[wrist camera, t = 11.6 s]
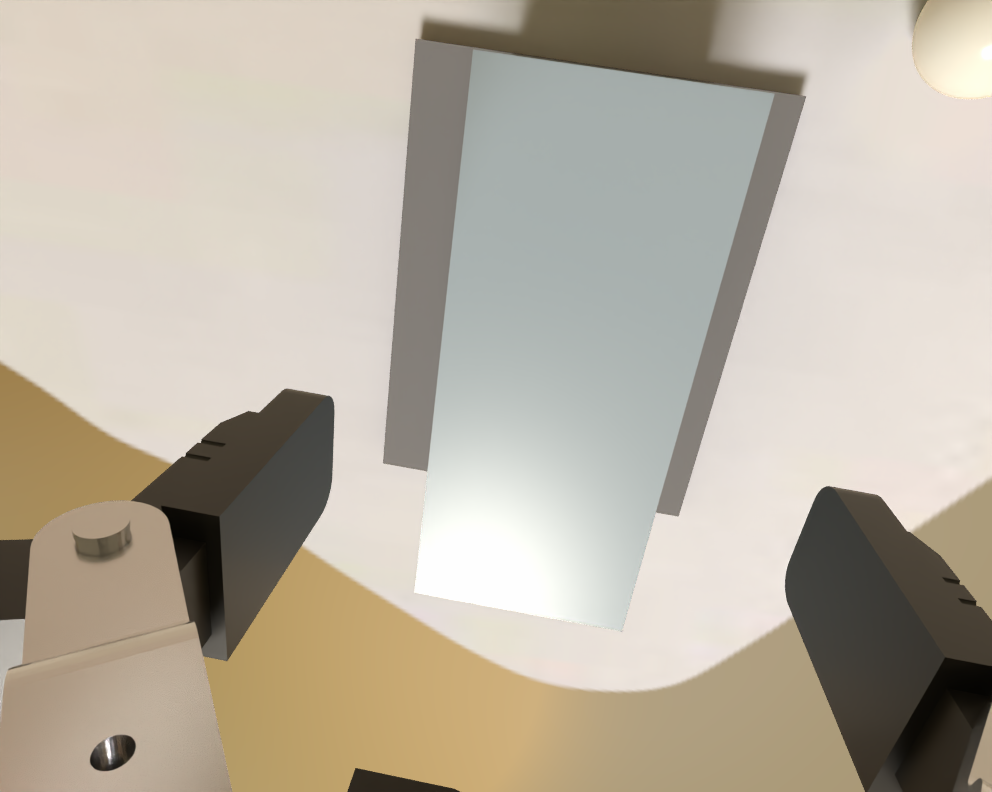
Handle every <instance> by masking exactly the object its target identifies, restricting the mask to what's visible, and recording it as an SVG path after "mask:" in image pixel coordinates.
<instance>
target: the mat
mask: <svg viewBox="0 0 992 792" xmlns="http://www.w3.org/2000/svg"><path fill="white" fill-rule="evenodd" d="M473 49H474V50H480V51H487V52H494V53H501V54H508V55H515V56H521V57H528V58H535V59H542V60H549V61H555V62H562V63H569V64H576V65H583V66H590V67H596V68H603V69H610V70H617V71H624V72H631V73H637V74H644V75H651V76H658V77H665V78H672V79H678V80H685V81H692V82H699V83H706V84H713V85H719V86H726V87H733V88H740V89H747V90H754V91H760V92H767V93H774V94H775V95H774V98H773V102H772V105H771V109H770V112H769V116H768V119H767V123H766V127H765V130H764V134H763V137H762V141H761V144H760V148H759V151H758V155H757V158H756V162H755V165H754V169H753V172H752V176H751V179H750V183H749V186H748V190H747V193H746V197H745V200H744V204H743V207H742V211H741V214H740V218H739V221H738V225H737V228H736V232H735V236H734V239H733V243H732V246H731V250H730V253H729V257H728V260H727V264H726V267H725V271H724V274H723V278H722V281H721V285H720V288H719V292H718V295H717V299H716V302H715V306H714V309H713V313H712V316H711V320H710V323H709V327H708V330H707V334H706V338H705V341H704V345H703V348H702V352H701V355H700V359H699V362H698V366H697V369H696V373H695V376H694V380H693V383H692V387H691V390H690V394H689V397H688V401H687V404H686V408H685V411H684V415H683V418H682V422H681V425H680V429H679V432H678V436H677V440H676V443H675V447H674V450H673V454H672V457H671V461H670V464H669V468H668V471H667V475H666V478H665V482H664V485H663V489H662V492H661V496H660V499H659V503H658V506H657V510H656V512H657V513H662V514H668V515H673V516H679V513H680V510H681V506H682V503H683V500H684V496H685V493H686V490H687V487H688V483H689V480H690V477H691V473H692V470H693V467H694V464H695V460H696V457H697V454H698V450H699V447H700V444H701V440H702V437H703V434H704V431H705V427H706V424H707V421H708V417H709V414H710V411H711V408H712V404H713V401H714V398H715V394H716V391H717V388H718V385H719V381H720V378H721V375H722V371H723V368H724V365H725V362H726V358H727V355H728V352H729V348H730V345H731V342H732V339H733V335H734V332H735V329H736V325H737V322H738V319H739V316H740V312H741V309H742V306H743V302H744V299H745V296H746V293H747V289H748V286H749V283H750V279H751V276H752V273H753V270H754V266H755V263H756V260H757V256H758V253H759V250H760V247H761V243H762V240H763V237H764V233H765V230H766V227H767V224H768V220H769V217H770V214H771V210H772V207H773V204H774V200H775V197H776V194H777V191H778V187H779V184H780V181H781V177H782V174H783V171H784V168H785V164H786V161H787V158H788V154H789V151H790V148H791V145H792V141H793V138H794V135H795V131H796V128H797V125H798V122H799V118H800V115H801V112H802V108H803V105H804V102H805V99H806V96H800V95H793V94H786V93H780V92H773V91H766V90H759V89H753V88H746V87H739V86H732V85H726V84H719V83H712V82H705V81H698V80H692V79H685V78H678V77H671V76H665V75H658V74H651V73H644V72H638V71H631V70H624V69H617V68H611V67H604V66H597V65H590V64H584V63H577V62H570V61H563V60H556V59H550V58H543V57H536V56H529V55H523V54H516V53H509V52H502V51H496V50H489V49H482V48H475V47H469V46H462V45H455V44H448V43H441V42H435V41H428V40H421V39H416V41H415V54H414V68H413V81H412V94H411V107H410V120H409V133H408V146H407V159H406V172H405V185H404V198H403V211H402V224H401V237H400V250H399V263H398V276H397V289H396V302H395V315H394V328H393V341H392V354H391V367H390V380H389V393H388V406H387V420H386V433H385V446H384V459H383V463H384V464H390V465H396V466H401V467H407V468H412V469H418V470H423V471H428V462H429V453H430V443H431V434H432V425H433V416H434V406H435V397H436V388H437V379H438V369H439V360H440V351H441V342H442V332H443V323H444V314H445V305H446V295H447V286H448V277H449V268H450V258H451V249H452V240H453V231H454V221H455V212H456V203H457V194H458V184H459V175H460V166H461V157H462V147H463V138H464V129H465V120H466V110H467V101H468V92H469V83H470V73H471V64H472V55H473Z"/></svg>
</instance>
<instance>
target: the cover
mask: <svg viewBox="0 0 992 792" xmlns="http://www.w3.org/2000/svg"><path fill="white" fill-rule="evenodd" d="M774 95H775V94H774V93H767V92H760V91H754V90H747V89H740V88H733V87H726V86H719V85H713V84H706V83H699V82H692V81H685V80H678V79H672V78H665V77H658V76H651V75H644V74H637V73H631V72H624V71H617V70H610V69H603V68H596V67H590V66H583V65H576V64H569V63H562V62H555V61H549V60H542V59H535V58H528V57H521V56H515V55H508V54H501V53H494V52H487V51H480V50H474V49H473V55H472V64H471V73H470V83H469V92H468V101H467V110H466V120H465V129H464V138H463V147H462V157H461V166H460V175H459V184H458V194H457V203H456V212H455V221H454V231H453V240H452V249H451V258H450V268H449V277H448V286H447V295H446V305H445V314H444V323H443V332H442V342H441V351H440V360H439V369H438V379H437V388H436V397H435V406H434V416H433V425H432V434H431V443H430V453H429V462H428V471H427V480H426V490H425V499H424V508H423V517H422V527H421V536H420V545H419V554H418V564H417V573H416V582H415V591H414V593H419V594H425V595H430V596H435V597H441V598H446V599H451V600H456V601H462V602H467V603H472V604H478V605H483V606H488V607H494V608H499V609H504V610H510V611H515V612H520V613H526V614H531V615H536V616H542V617H547V618H552V619H557V620H563V621H568V622H573V623H579V624H584V625H589V626H595V627H600V628H605V629H611V630H616V631H621V632H622V629H623V626H624V622H625V619H626V615H627V612H628V608H629V605H630V601H631V598H632V594H633V591H634V587H635V584H636V580H637V577H638V573H639V570H640V566H641V563H642V559H643V556H644V552H645V549H646V545H647V541H648V538H649V534H650V531H651V527H652V524H653V520H654V517H655V513H656V510H657V506H658V503H659V499H660V496H661V492H662V489H663V485H664V482H665V478H666V475H667V471H668V468H669V464H670V461H671V457H672V454H673V450H674V447H675V443H676V440H677V436H678V432H679V429H680V425H681V422H682V418H683V415H684V411H685V408H686V404H687V401H688V397H689V394H690V390H691V387H692V383H693V380H694V376H695V373H696V369H697V366H698V362H699V359H700V355H701V352H702V348H703V345H704V341H705V338H706V334H707V330H708V327H709V323H710V320H711V316H712V313H713V309H714V306H715V302H716V299H717V295H718V292H719V288H720V285H721V281H722V278H723V274H724V271H725V267H726V264H727V260H728V257H729V253H730V250H731V246H732V243H733V239H734V236H735V232H736V228H737V225H738V221H739V218H740V214H741V211H742V207H743V204H744V200H745V197H746V193H747V190H748V186H749V183H750V179H751V176H752V172H753V169H754V165H755V162H756V158H757V155H758V151H759V148H760V144H761V141H762V137H763V134H764V130H765V127H766V123H767V119H768V116H769V112H770V109H771V105H772V102H773V98H774Z"/></svg>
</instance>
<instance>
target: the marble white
mask: <svg viewBox="0 0 992 792" xmlns="http://www.w3.org/2000/svg"><path fill="white" fill-rule="evenodd" d="M912 55H913V60H914V64H915V67H916V69H917V71H918V73H919V75H920V76H921V78H922V79H923V80H924V81H925V82H926V84H927V85H929V86H930V87H931V88H932V89H934V90H936V91H937V92H939V93H941V94H944V95H946V96H949V97H953V98H958V99H981V98H986V97H992V0H928V1H927V2H926V4H925V5H924V7H923V9H922V11H921V13H920V15H919V17H918V20H917V22H916V25H915V29H914V32H913V38H912Z"/></svg>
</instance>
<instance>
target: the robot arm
mask: <svg viewBox="0 0 992 792" xmlns="http://www.w3.org/2000/svg"><path fill="white" fill-rule="evenodd" d="M333 438H334V402H333V399H332V398H331V397H330V396H326V395H320V394H315V393H309V392H303V391H298V390H292V389H284V390H283V391H282V392H281V393H280V394H278V395H277V396H276V397H275V398H274V399H273V400H272V401H271V402H270V403H269V404H268V405H267V406H266V407H265V408H264V409H263V410H261V411H260V412H259V413H256V412H250V411H248V412H246V413H243V414H241V415H238V416H236V417H234V418H231V419H229V420H226V421H224V422H222V423H220V424H219V425H218V426H216V427H215V428H214V429H213V430H212V431H211V432H209V433H208V434H207V435H206V436H205V437H204V438H203V439H202V441H201V443H197V444H196V445H195V446H193V447H192V448H191V449H190V450H189V451H188V452H187V453H186V456H185V457H181V458H180V459H178V460H177V461H176V462H175V463H174V464H173V465H172V466H170V467H169V468H168V469H167V470H166V471H165V472H164V473H162V474H161V475H160V476H159V477H158V478H157V479H156V480H154V481H153V482H152V483H151V484H150V485H149V486H147V487H146V488H145V489H144V490H143V491H142V492H141V493H139V494H138V495H137V496H136V497H135V498H134V499H133V500H131V501H108V502H100V503H95V504H90V505H86V506H83V507H80V508H77V509H74V510H71V511H69V512H67V513H64V514H63V515H60V516H59V517H57V518H55V519H54V520H52V521H50V522H49V523H48V524H46V525H45V526H44V527H43V528H42V529H41V530H40V531H39V532H38V533H37V534H36V535H35V537H34V539H30V540H0V792H232V789H231V784H230V780H229V775H228V770H227V766H226V761H225V756H224V752H223V747H222V743H221V738H220V733H219V729H218V724H217V719H216V715H215V710H214V705H213V701H212V696H211V691H210V687H209V682H208V677H207V673H206V668H205V664H204V659H203V656H205V657H209V658H215V659H220V660H224V661H227V660H228V659H229V657H230V656H231V654H232V653H233V651H234V650H235V648H236V646H237V645H238V644H239V642H240V640H241V639H242V637H243V636H244V634H245V633H246V631H247V629H248V628H249V626H250V625H251V623H252V622H253V620H254V619H255V617H256V615H257V614H258V612H259V611H260V609H261V608H262V606H263V605H264V603H265V602H266V600H267V598H268V597H269V595H270V594H271V592H272V591H273V589H274V588H275V586H276V584H277V582H278V581H279V579H280V578H281V577H282V575H283V574H284V572H285V570H286V569H287V567H288V566H289V564H290V563H291V561H292V560H293V558H294V556H295V555H296V553H297V552H298V550H299V549H300V547H301V546H302V544H303V542H304V541H305V539H306V538H307V536H308V535H309V533H310V532H311V530H312V528H313V527H314V525H315V524H316V522H317V521H318V519H319V518H320V516H321V514H322V513H323V511H324V508H325V506H326V503H327V500H328V497H329V493H330V489H331V483H332V467H333ZM959 582H960V580H959V579H958V577H957V576H956V575H955V574H954V573H953V571H952V570H951V569H950V567H949V566H948V565H947V564H946V562H945V561H944V560H943V559H942V557H941V556H940V555H939V554H937V553H936V552H935V551H933V550H932V549H931V548H930V547H928V546H927V545H926V544H924V543H923V542H922V541H921V540H919V539H918V538H917V537H915V536H914V535H913V534H912V533H910V532H907V531H906V529H905V528H904V527H903V526H902V524H901V523H900V522H899V520H898V519H897V518H896V516H895V515H894V514H893V512H892V511H891V510H890V508H889V507H888V506H887V505H886V503H885V502H884V501H883V499H882V498H881V497H879V496H878V495H875V494H869V493H864V492H858V491H852V490H847V489H841V488H836V487H830V486H827V487H824V488H823V489H821V490H820V491H819V493H818V494H817V496H816V498H815V500H814V502H813V505H812V507H811V509H810V512H809V514H808V517H807V519H806V522H805V524H804V527H803V529H802V532H801V534H800V536H799V539H798V541H797V544H796V546H795V549H794V551H793V554H792V556H791V559H790V561H789V564H788V567H787V571H786V579H785V592H786V598H787V602H788V605H789V608H790V610H791V612H792V615H793V617H794V620H795V622H796V624H797V627H798V629H799V632H800V634H801V637H802V639H803V642H804V644H805V646H806V649H807V651H808V653H809V656H810V659H811V661H812V663H813V666H814V668H815V671H816V673H817V676H818V678H819V680H820V683H821V685H822V688H823V690H824V692H825V695H826V697H827V700H828V702H829V705H830V707H831V710H832V712H833V714H834V717H835V719H836V722H837V724H838V727H839V729H840V732H841V734H842V736H843V739H844V741H845V744H846V746H847V749H848V751H849V753H850V756H851V758H852V761H853V763H854V766H855V768H856V770H857V773H858V775H859V778H860V780H861V783H862V785H863V787H864V790H865V792H992V620H991V619H990V618H989V616H988V615H987V614H986V613H985V611H984V610H983V609H982V608H981V607H978V606H976V600H975V599H974V598H973V596H972V595H971V594H970V593H969V591H968V590H967V589H966V588H965V586H964V585H960V584H959ZM348 792H460V791H457V790H456V789H452V788H448V787H443V786H438V785H434V784H429V783H424V782H419V781H415V780H410V779H405V778H400V777H396V776H391V775H385V774H381V773H376V772H372V771H367V770H362V769H358V768H355V771H354V774H353V777H352V780H351V783H350V786H349V789H348Z"/></svg>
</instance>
